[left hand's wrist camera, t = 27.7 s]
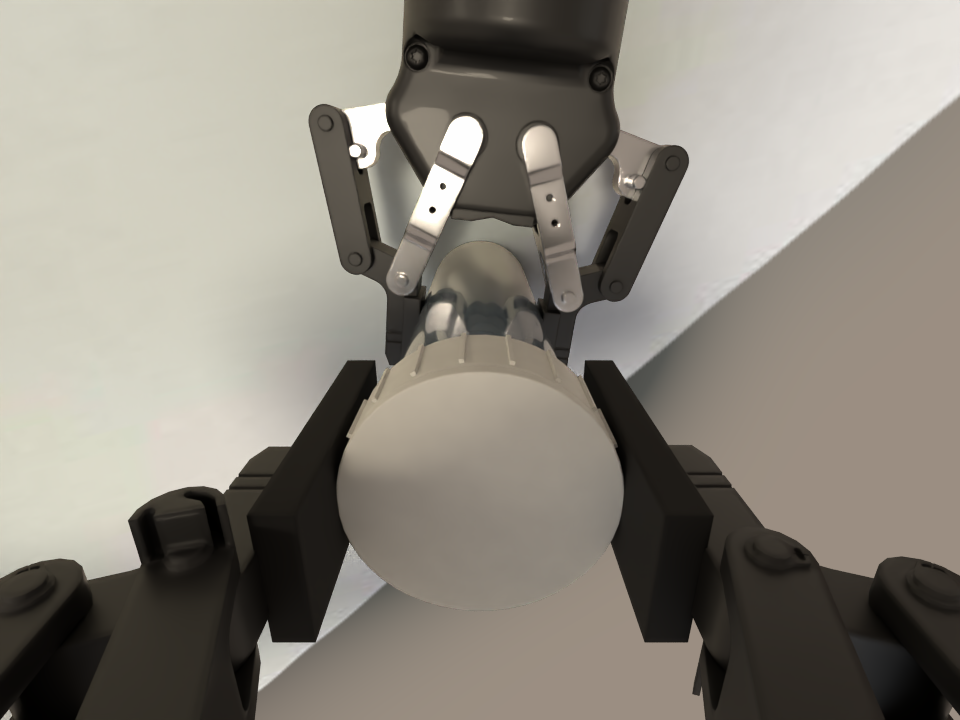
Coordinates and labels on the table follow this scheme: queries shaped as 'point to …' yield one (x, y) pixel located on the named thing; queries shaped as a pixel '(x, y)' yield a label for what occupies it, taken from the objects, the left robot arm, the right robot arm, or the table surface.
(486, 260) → the bottle
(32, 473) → the table surface
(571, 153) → the right robot arm
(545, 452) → the lid
